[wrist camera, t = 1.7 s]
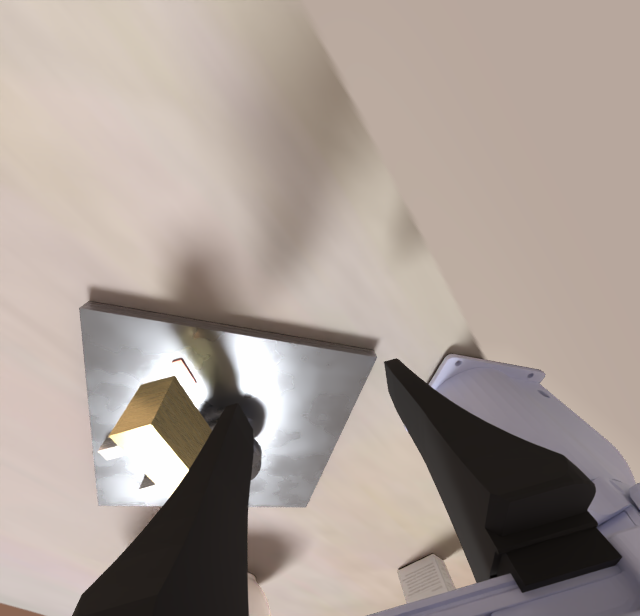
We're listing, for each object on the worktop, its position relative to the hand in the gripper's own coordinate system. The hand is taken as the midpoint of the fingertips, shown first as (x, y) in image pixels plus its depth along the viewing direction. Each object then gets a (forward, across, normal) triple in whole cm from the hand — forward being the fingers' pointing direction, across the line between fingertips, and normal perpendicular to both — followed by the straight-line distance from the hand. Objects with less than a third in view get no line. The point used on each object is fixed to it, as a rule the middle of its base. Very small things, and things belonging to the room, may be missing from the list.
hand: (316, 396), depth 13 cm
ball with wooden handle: (+3, +8, +3) cm, 9 cm away
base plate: (+5, +8, +6) cm, 11 cm away
